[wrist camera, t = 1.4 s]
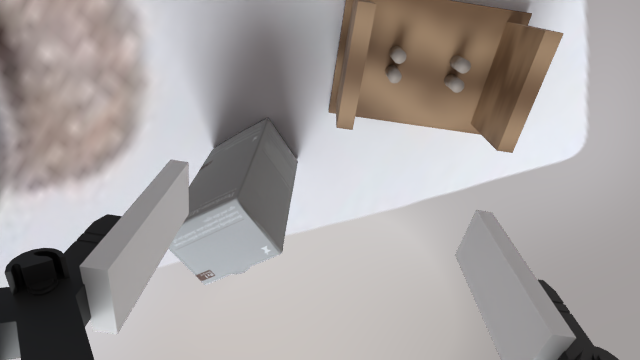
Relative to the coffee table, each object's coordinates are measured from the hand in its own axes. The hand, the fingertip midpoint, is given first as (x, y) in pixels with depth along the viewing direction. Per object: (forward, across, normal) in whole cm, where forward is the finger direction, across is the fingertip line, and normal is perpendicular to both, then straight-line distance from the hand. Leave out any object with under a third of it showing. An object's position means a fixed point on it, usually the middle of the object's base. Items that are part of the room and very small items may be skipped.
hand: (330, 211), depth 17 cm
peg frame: (+24, +9, +3) cm, 26 cm away
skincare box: (+24, -7, -11) cm, 27 cm away
